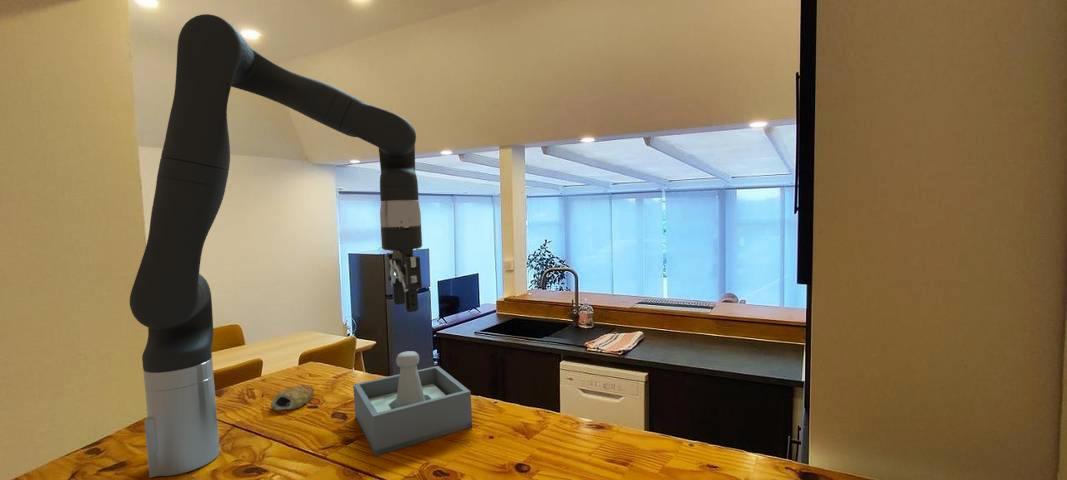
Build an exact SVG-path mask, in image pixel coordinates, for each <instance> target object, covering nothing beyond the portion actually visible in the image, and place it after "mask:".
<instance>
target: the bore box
mask: <svg viewBox="0 0 1067 480" xmlns="http://www.w3.org/2000/svg"><path fill="white" fill-rule="evenodd" d="M418 373H419V377H420V381H421V385H422V389H423V393H424V397H425V401H422V402H418V403H414V404H410V405H406V406H403V407H399V408H395V405H396V398H397V390H398V383H399V376H400V373H399V374H395V375H389V376H385V377H380V378H376V379H371V380H367V381H362V382H357V383H353V384H352V385H353V400H354V401H353V402H354V416H355V420H356V422H357V424H358V426H359V427H360V429H361V431H362V433H363V435H364V437H365V438H366V441H367V443H368V445H369V447H370V449H371V451H372V453H373V454H374V457H378V456H382V455H384V454H387V453H388V454H389V453H390V452H395V451H397V450H401V449H404V448H408V447H411V446H415V445H417V444H420V443H421V444H422V443H424V442H428V441H430V440H434V439H437V438H440V437H444V436H446V435H450V434H453V433H457V432H461V431H464V430H466V429H470V428H473V417H472V416H473V414H472V395H471V393H472V392H471V390H470V389H469V388H467V387H466V386H464V385H463V384H462V383H461V382H460V381H458V380H457V379H456V378H454V377H453V376H452V375H451V374H449V373H448V372H447V371H446V370H444V369H443V368H441V366H439V365H436V366H430V367H426V368H422V369H418Z"/></svg>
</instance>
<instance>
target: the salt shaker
mask: <svg viewBox="0 0 1067 480" xmlns="http://www.w3.org/2000/svg"><path fill="white" fill-rule="evenodd" d="M419 363H420V355H419V353H417V351H412V350H410V351H408V350H407V351H402V352H400V353H399V354H397V356H396V365H397V367H399V368H400V370H399V374H400V376H399V383H398V390H397V398H396V405H395V408H399V407H403V406H406V405H410V404H414V403H418V402H422V401H425V397H424V393H423V389H422V385H421V381H420V377H419V373H418V370H419V369H418V366H417V365H418V364H419Z"/></svg>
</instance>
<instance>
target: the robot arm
mask: <svg viewBox="0 0 1067 480" xmlns="http://www.w3.org/2000/svg"><path fill="white" fill-rule="evenodd" d="M176 49H177V50H176V66H175V67H176V68H175V69H176V70H175V84H174V94H173V100H172V104H171V109H170V113H169V118H168V122H167V126H166V127H167V128H166V133H165V139H164V143H163V147H162V150H161V156H160V161H159V164H158V171H157V176H156V184H155V190H154V196H153V201H152V208H151V213H150V222H149V230H148V237H147V241H146V245H145V249H144V251H143V255H142V258H141V260H140V261H141V262H140V264H139V268H138V270H137V272H136V276H135V278H134V282H133V285H132V287H131V290H130V294H129V308H130V311H131V313H132V315H133V317H134V318H135V320H137V322H139V324H141V325H143V326H144V327H146V328H147V331H148V334H147V342H146V344H145V347H144V350H143V353H142V357H141V358H142V359H141V361H142V370H143V380H144V381H143V382H144V391H145V392H144V393H145V402H146V404H145V405H146V413H147V416H146V418H145V419H144V430H145V442H146V443H145V444H146V452H147V453H146V454H147V464H148V473H149V474H148V475H149V478H155V477H169V476H176V475H181V474H185V473H189V472H191V471H194V470H197V469H199V468H202V467H204V466H206V465H208V464H209V463H212V461H214V460H215V459H216V458H218V457H219V454H220V437H219V425H218V413H217V401H216V390H215V389H216V388H215V378H214V368H213V367H214V365H213V355H212V349H213V346H212V345H213V342H214V341H213V339H214V317H213V316H214V315H213V302H212V301H213V300H212V292H211V288H210V285H209V283H208V280H206V279H205V277H204V276H203V275H202V274H201V273H200V270H201V269H200V268H201V260H202V253H203V248H204V245H205V242H206V239H207V236H208V234H209V232H210V231H211V228H212V226H213V225H214V224H213V223H214V222H215V220H216V217H217V215H218V213H219V210H220V209H221V205H222V202H223V199H224V196H225V193H226V188H227V183H228V177H229V171H230V165H231V164H230V162H231V145H230V136H229V128H228V126H229V125H228V103H229V96H230V93H231V88H234V89H238V90H241V91H244V92H248V93H251V94H255V95H258V96H260V97H263V98H266V99H268V100H271V101H273V102H276V103H279V104H280V105H283V106H285V107H287V108H290V109H291V110H292V111H295V112H298V113H299V114H301V115H304V116H305V117H308V118H310V119H312V120H314V121H316V122H318V123H320V124H322V125H324V126H326V127H328V128H330V129H333V130H335V131H337V132H338V133H341V134H343V135H346V136H349V137H351V138H358V139H361V140H362V141H364V142H366V143H369V144H371V145H373V146H375V147H377V148H378V156H379V165H380V175H379V193H380V196H379V197H380V210H379V218H380V236H381V237H380V239H381V248H382V250H384V251H392V252H388V253H387V269H388V282H390V286H392V299H393V301H392V302H393V304H394V305H397V306H399V305H404V307H405V310H404V311H405V312H408V313H411V312H417V311H418V310H419V301H418V300H419V298H418V291H419V290H421V289H422V287H423V283H422V270H421V258H420V256H419V255H416V256H414V252H413V251H414V250H417V249H420V248H422V247H423V235H422V217H421V213H422V212H421V209H420V202H419V199H420V198H419V187H418V186H419V185H418V184H419V182H418V177H417V173H416V142H417V134H416V130H415V128H414V126H413V124H411V123H410V122H409V121H408V120H407V119H406V118H404V117H402V116H400V115H399V114H396V113H394V112H391V111H388V110H386V109H383V108H381V107H377V106H374V105H372V104H368V103H366V102H364V101H363V100H361V99H359V98H358V97H356V96H354V95H352V94H349V93H347V92H345V91H344V90H341V89H340V88H337V87H335V86H333V85H330V84H329V83H326V82H323V81H320V80H317V79H314V78H310V77H309V76H308V77H307V76H304V75H300V74H298V73H296V72H293V71H290V70H288V69H286V68H284V67H282V66H279V65H278V64H276V63H275V62H273V61H271V60H269V59H268V58H266V57H265V56H263V55H262V54H260V53H259V52H257V51H256V50H255V49H253V48H251V47H250V45H249V43H248V42H247V41H246V40H245V38H244V37H243V36H242V35H241V33H240V32H239V31H238V30H237V29H236V28H235V27H234V26H233V25H232V24H231V23H229V21H227V20H225V19H224V18H222V17H220V16H217V15H215V14H210V13H208V14H207V13H206V14H204V13H203V14H199V15H196V16H194V17H191V18H190V19H189V20H187V21H186V23H185V24H184V25H183V26H182V27H181V30H180V33H179V34H178V39H177V48H176Z"/></svg>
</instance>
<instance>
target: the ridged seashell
mask: <svg viewBox="0 0 1067 480" xmlns="http://www.w3.org/2000/svg"><path fill="white" fill-rule="evenodd" d="M314 395H315V390H314V387H313V386H308V385H296V386H292V387H287V388H285V389H283V390H282V391H279V392H277V394H276V395H275V396H274V398H273V399H272V402H271V403H270V407H271V408H272V410H276V411H284V410H287V411H288V410H289V411H290V410H294V409H295V410H296V409H300V408H301V407H303V406H304V404H308V403H309V402H310V401H311V399H312V398H314Z"/></svg>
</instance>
